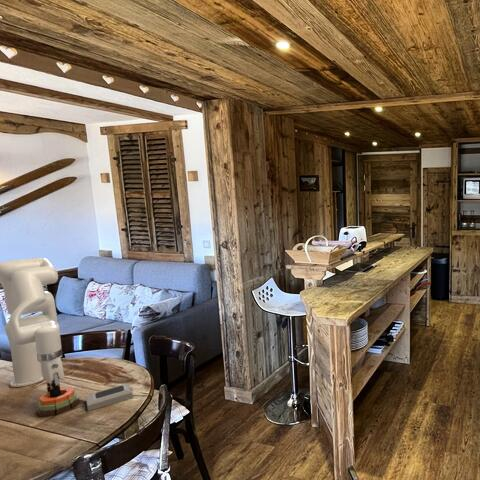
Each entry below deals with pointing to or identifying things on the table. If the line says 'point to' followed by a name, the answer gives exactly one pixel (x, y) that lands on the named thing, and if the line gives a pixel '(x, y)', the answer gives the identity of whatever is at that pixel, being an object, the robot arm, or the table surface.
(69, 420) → the table surface
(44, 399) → the terracotta ring
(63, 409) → the walnut ring
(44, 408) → the green ring
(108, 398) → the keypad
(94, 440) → the table surface
